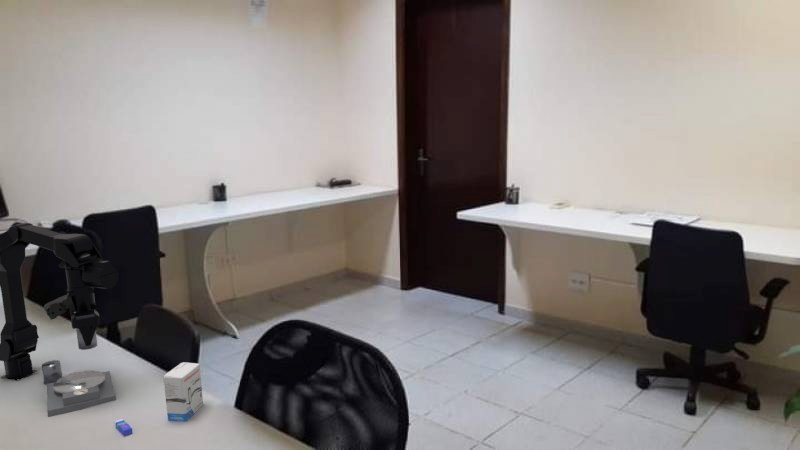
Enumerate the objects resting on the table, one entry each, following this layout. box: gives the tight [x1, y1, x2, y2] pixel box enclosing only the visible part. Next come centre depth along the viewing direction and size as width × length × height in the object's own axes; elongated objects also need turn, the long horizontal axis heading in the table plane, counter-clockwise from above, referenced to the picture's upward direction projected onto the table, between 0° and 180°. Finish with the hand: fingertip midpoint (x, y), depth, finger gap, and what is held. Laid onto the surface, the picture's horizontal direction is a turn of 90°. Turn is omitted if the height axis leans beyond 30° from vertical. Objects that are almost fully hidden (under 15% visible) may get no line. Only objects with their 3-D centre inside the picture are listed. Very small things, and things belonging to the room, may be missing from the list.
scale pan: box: [53, 370, 105, 394], centre depth 160 cm, size 12×12×1 cm
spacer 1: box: [41, 359, 63, 385], centre depth 167 cm, size 4×4×5 cm
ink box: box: [163, 361, 204, 423], centre depth 147 cm, size 9×5×12 cm, turn 168°
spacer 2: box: [75, 328, 98, 351], centre depth 160 cm, size 4×4×5 cm
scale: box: [46, 370, 117, 417], centre depth 159 cm, size 17×15×4 cm
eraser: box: [114, 418, 133, 437], centre depth 141 cm, size 2×6×2 cm, turn 42°
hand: (87, 342), depth 160 cm, fingers closed on spacer 2, 4 cm apart
